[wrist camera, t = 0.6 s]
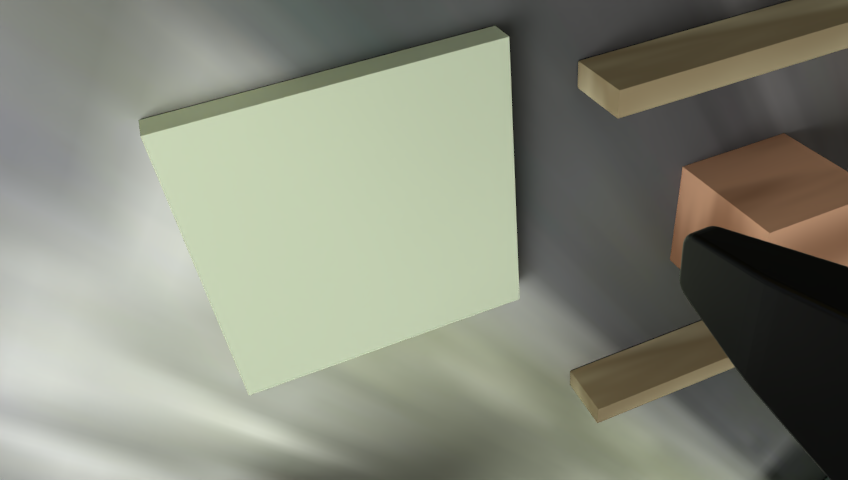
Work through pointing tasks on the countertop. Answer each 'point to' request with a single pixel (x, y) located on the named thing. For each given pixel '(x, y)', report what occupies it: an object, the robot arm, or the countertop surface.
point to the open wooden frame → (670, 81)
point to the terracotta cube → (768, 198)
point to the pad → (348, 203)
